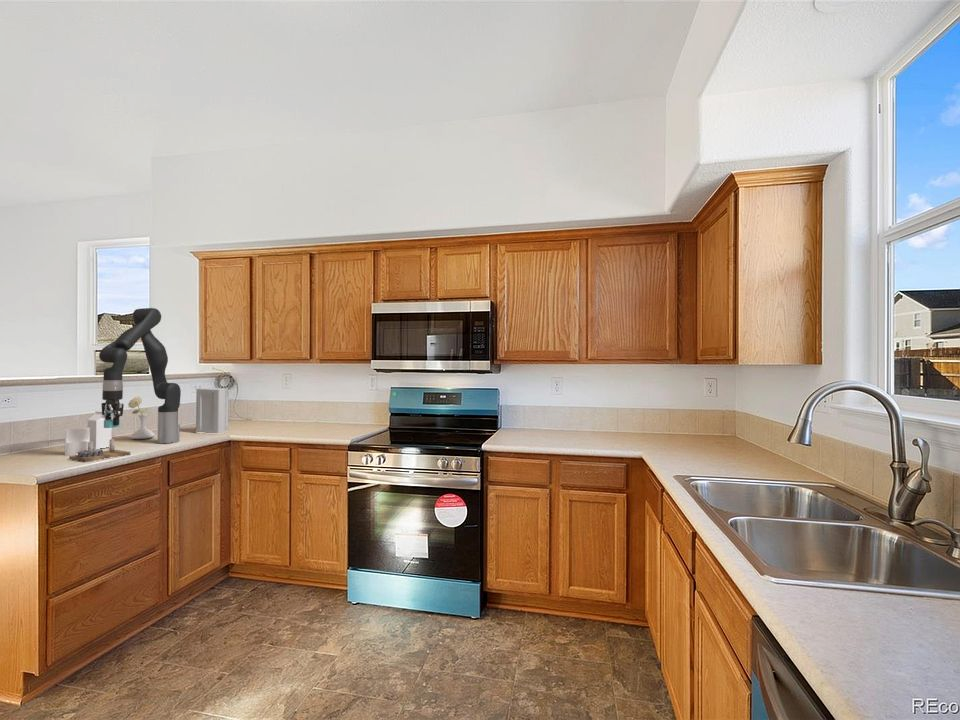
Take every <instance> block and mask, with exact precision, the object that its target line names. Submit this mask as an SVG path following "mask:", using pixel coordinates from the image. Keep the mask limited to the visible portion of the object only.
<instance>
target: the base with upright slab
mask: <svg viewBox="0 0 960 720" xmlns="http://www.w3.org/2000/svg"><path fill="white" fill-rule="evenodd" d="M88 442H90V428H88V427H84V428H70V429H68V428H66V429H65V430H64V456H68V455H70V456H75V455H76V454H78V452H80V451H85V450H88Z"/></svg>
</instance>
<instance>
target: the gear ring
mask: <svg viewBox="0 0 960 720" xmlns="http://www.w3.org/2000/svg"><path fill="white" fill-rule="evenodd" d="M104 428H112V429H114V428H121V419H120V418H119V425H113V418H111V419H108V420H104Z"/></svg>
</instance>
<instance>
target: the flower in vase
mask: <svg viewBox="0 0 960 720" xmlns="http://www.w3.org/2000/svg"><path fill="white" fill-rule="evenodd" d="M142 401H143V397H140V396H134V397H133V398H132V399H130V400H129V402H128V404H127V405H128V408H131V409H135V408H138V409H135V410H133V411H132V412H131V414H133V415H134V414H135V415H136V414H138V413H140V414H139V415H137V416H138V418H139V420H140V427H139V429H137V430H136V431H135V432H133V433H132V434H131V436H130V437H131V439H135V440H146V439H147V440H148V439H151V438H154V437H155V436H156V434H155V433H154V431H152V430H150V429H149V428H147V426H146V424H147V423H146V422H147V418H148V417H149V414H144V413H147V412H148V408H145V409H143V410H141V409H140V407H139V406H140V405H141V404H142Z"/></svg>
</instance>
